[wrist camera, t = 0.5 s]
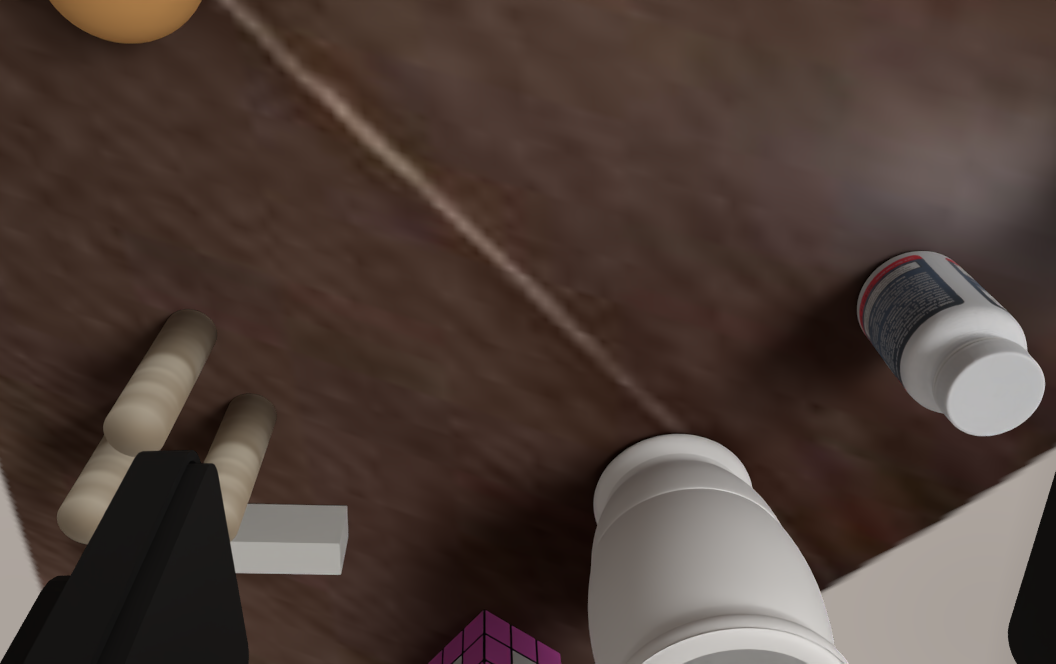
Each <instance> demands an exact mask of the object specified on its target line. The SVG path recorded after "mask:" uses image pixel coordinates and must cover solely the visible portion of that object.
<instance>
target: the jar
mask: <svg viewBox="0 0 1056 664" xmlns="http://www.w3.org/2000/svg"><path fill="white" fill-rule="evenodd" d="M593 507H594V515H595V519H596V522H597V528H596V531H595V535H594V540H593V547H592V557H591V572H590V580H589V591H588V621H589V632H590V640H591V646H592V651H593V656H594V660H595V664H849V663H848V661H847V660H846V659H845V657H844V656H843V655H842V654H841V653H840V651H839V650H838V649H837V648H836V647H835V644H834V639H833V634H832V629H831V625H830V622H829V617H828V614H827V611H826V607H825V604H824V601H823V598H822V595H821V593H820V590H819V587H818V585H817V583H816V580H815V578H814V576H813V574H812V572H811V570H810V568H809V566H808V564H807V562H806V560H805V559H804V557H803V555H802V554H801V552H800V550H799V549H798V547H797V546H796V544H795V543H794V541H793V540H792V539H791V537H790V536H789V535H788V533H787V532H786V531H785V530H784V529H783V527H782V526H781V524H780V522H779V521H778V519H777V517H776V516H775V514H774V513H773V511H772V510H771V509H770V507H769V506H768V505H767V503H766V502H765V501H764V500H763V499H762V497H761V496H760V495H759V494H758V493H757V492H756V491H755V490H754V489H753V488H752V484H751V481H750V478H749V475H748V473H747V471H746V469H745V467H744V466H743V464H742V463H741V461H740V460H739V459H738V458H737V457H736V456H735V455H734V454H733V453H732V452H731V451H730V450H728V449H727V448H725V447H724V446H722V445H721V444H719V443H717V442H715V441H712V440H710V439H707V438H704V437H700V436H696V435H689V434H667V435H661V436H656V437H652V438H649V439H646V440H643V441H641V442H638V443H636V444H634V445H632V446H631V447H629V448H627V449H626V450H624V451H623V452H622V453H620V454H619V455H618V456H617V457H615V458H614V459H613V460H612V461H611V463H610V464H609V465H608V466H607V467H606V469H605V470H604V472H603V473H602V475H601V477H600V479H599V481H598V483H597V486H596V489H595V494H594V502H593Z"/></svg>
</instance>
